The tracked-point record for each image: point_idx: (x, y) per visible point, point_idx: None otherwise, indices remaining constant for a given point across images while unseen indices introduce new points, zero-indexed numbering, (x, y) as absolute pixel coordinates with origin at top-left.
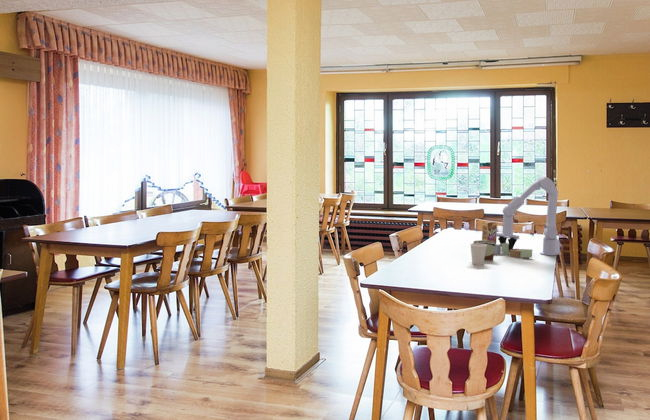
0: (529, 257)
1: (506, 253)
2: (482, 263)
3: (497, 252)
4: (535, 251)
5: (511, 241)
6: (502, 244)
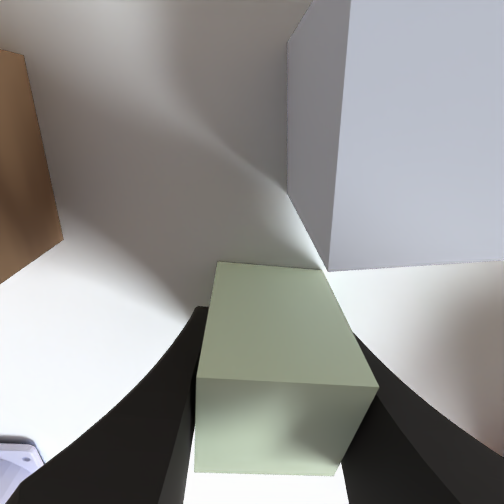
0: None
1: (238, 264)
2: None
3: (293, 64)
4: None
5: (43, 465)
6: (345, 363)
